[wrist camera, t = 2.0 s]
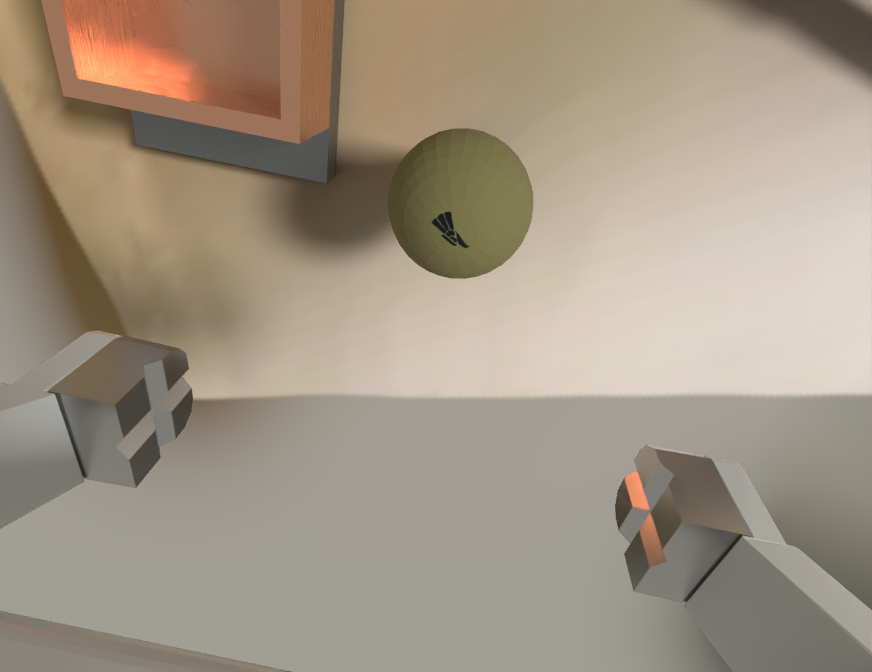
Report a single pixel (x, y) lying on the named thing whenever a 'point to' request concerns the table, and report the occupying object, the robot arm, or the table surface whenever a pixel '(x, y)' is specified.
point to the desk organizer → (211, 75)
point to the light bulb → (460, 203)
